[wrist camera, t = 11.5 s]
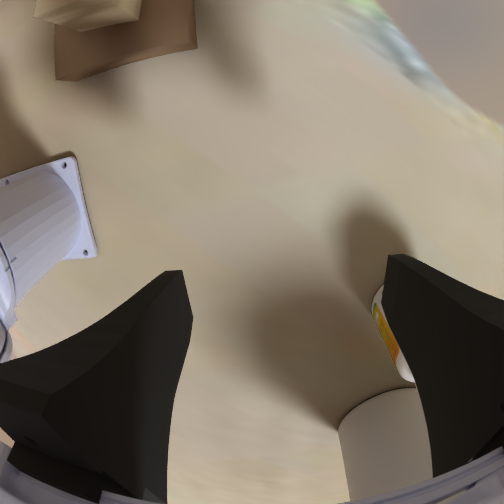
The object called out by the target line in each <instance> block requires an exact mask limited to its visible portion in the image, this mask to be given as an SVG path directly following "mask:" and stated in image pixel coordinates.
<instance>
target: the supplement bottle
mask: <svg viewBox="0 0 504 504" xmlns="http://www.w3.org/2000/svg"><path fill="white" fill-rule="evenodd" d="M383 287H384V284H383V285H382V286H381V287H380V289H379V290H378V291H377V293H376V295H375V297H374V299H373V302H372V315H373V318H374V320H375V322H376V324H377V327H378V329H379V330H380V332H381V335H382V337H383V339H384V341H385V343H386V345H387V347H388V350H389V352H390V354H391V356H392V358H393V361H394V363H395V365H396V367H397V369H398V371H399V373H400V375H401V376H402V377H403V378H404V379H405V380H407V381H410V382H415V380H414V378H413V375H412V373H411V370H410V368H409V366H408V364H407V362H406V360H405V358H404V356H403V354H402V352H401V350H400V348H399V346H398V344H397V342H396V339H395V337H394V335H393V333H392V331H391V329H390V327H389V325H388V322H387V320H386V317H385V314H384V311H383V308H382V305H381V299H382V293H383ZM415 385H416V383H415ZM416 389H417V386H416ZM417 391H418V390H417Z"/></svg>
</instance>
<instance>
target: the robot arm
mask: <svg viewBox="0 0 504 504" xmlns="http://www.w3.org/2000/svg"><path fill="white" fill-rule="evenodd" d="M65 162H66V164H67V167H65V165H64V163H65ZM8 181H9V183H8ZM85 250H87V251H88V253H86V251H85ZM97 252H98V251H97V247H96V243H95V240H94V236H93V233H92V229H91V225H90V221H89V217H88V213H87V209H86V204H85V200H84V196H83V191H82V186H81V181H80V176H79V171H78V166H77V161H76V159H75V157H73V156H70V157H67V158H63V159H59V160H56V161H53V162H49V163H46V164H43V165H40V166H36V167H33V168H30V169H27V170H24V171H21V172H18V173H16V174H13V175H10V176H7V177H4V178H2V179H0V427H1V428H2V429H3V430H4V431H5V432H6V433H7V434H8V435H9V436H10V437H11V438H12V439H13V440H14V441H15V443H14V445H13V447H12V448H10V447H9V446H8V445H6V444H5V443H3V442H1V441H0V504H167V463H168V446H169V435H170V425H171V417H172V410H173V403H174V398H175V393H176V389H177V385H178V382H179V378H180V375H181V371H182V368H183V364H184V361H185V357H186V353H187V350H188V346H189V342H190V337H191V330H192V322H193V314H192V310H191V306H190V302H189V298H188V294H187V289H186V285H185V281H184V276H183V272H182V270H173V271H165V272H163V273H162V274H160V275H159V276H157V277H156V278H155V279H153V280H152V281H151V282H150V283H148V284H147V285H146V286H145V287H143V288H142V289H141V290H140V291H138V292H137V293H136V294H135V295H133V296H132V297H131V298H130V299H128V300H127V301H126V302H124V303H123V304H121V305H120V306H119V307H117V308H116V309H115V310H113V311H112V312H111V313H109V314H108V315H106V316H105V317H104V318H102V319H100V320H99V321H97V322H96V323H94V324H92V325H91V326H89V327H88V328H86V329H84V330H82V331H81V332H79V333H77V334H75V335H73V336H71V337H69V338H67V339H65V340H63V341H61V342H59V343H57V344H55V345H53V346H50V347H48V348H46V349H43V350H41V351H38V352H35V353H33V354H30V355H27V356H24V357H21V358H17V359H14V360H10V361H9V359H10V356H11V353H12V339H11V336H10V334H9V332H8V331H9V329H10V328H11V327H12V326H13V325H14V323H15V322H16V321H17V317H16V315H15V311H14V308H15V306H16V305H17V304H18V303H19V302H20V301H21V300H22V299H23V298H24V297H25V296H26V295H27V294H28V292H29V291H30V290H31V289H32V288H33V287H34V286H35V285H36V284H37V283H38V282H39V281H40V280H41V279H42V278H43V277H44V276H45V275H46V274H47V273H48V272H49V271H50V270H51V269H52V268H53V267H54V266H55V265H56V264H57V263H58V262H59V261H60V260H67V259H81V258H93V257H95V256H96V255H97ZM381 305H382V308H383V311H384V314H385V317H386V320H387V322H388V325H389V327H390V329H391V331H392V333H393V335H394V337H395V339H396V342H397V344H398V346H399V348H400V350H401V352H402V354H403V356H404V358H405V360H406V362H407V364H408V366H409V368H410V370H411V373H412V375H413V378H414V380H415V383H416V386H417V390H418V393H419V396H420V400H421V403H422V407H423V411H424V416H425V420H426V425H427V430H428V436H429V442H430V449H431V459H432V473H433V478H432V479H429V480H427V481H424V482H421V483H418V484H415V485H412V486H409V487H406V488H403V489H399V490H396V491H392V492H389V493H385V494H381V495H377V496H373V497H369V498H365V499H360V500H355V501H350V502H345V503H339V504H436V503H438V502H441V501H443V500H445V499H448V498H450V497H452V496H454V495H457V494H459V493H461V492H463V491H465V490H466V491H465V492H464V493H462V494H460V495H458V496H457V497H455V498H453V499H451V500H449V501H447V502H445V503H443V504H504V300H501V299H499V298H496V297H493V296H491V295H488V294H486V293H483V292H481V291H479V290H476V289H474V288H472V287H470V286H468V285H466V284H464V283H462V282H459V281H457V280H455V279H454V278H452V277H450V276H448V275H446V274H444V273H442V272H440V271H438V270H436V269H434V268H433V267H431V266H429V265H427V264H425V263H423V262H421V261H419V260H417V259H415V258H412V257H410V256H408V255H405V254H396V255H388V261H387V268H386V275H385V281H384V287H383V293H382V299H381Z"/></svg>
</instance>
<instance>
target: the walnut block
mask: <svg viewBox="0 0 504 504" xmlns="http://www.w3.org/2000/svg"><path fill="white" fill-rule="evenodd" d="M191 49H197V37H196V25H195V12H194V0H142V1H141V8H140V14H139V20H137V21H131V22H125V23H119V24H114V25H109V26H105V27H100V28H96V29H92V30H88V31H84V32H79V31H76V30H73V29H70V28H67V27H64V26H61V25H58V24H55V75H56V80H62V81H78V80H81V79H83V78H86V77H89V76H92V75H94V74H97V73H100V72H103V71H106V70H109V69H112V68H116V67H119V66H122V65H126V64H129V63H133V62H137V61H140V60H144V59H148V58H152V57H157V56H161V55H165V54H170V53H175V52H180V51H185V50H191Z"/></svg>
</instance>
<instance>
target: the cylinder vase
mask: <svg viewBox="0 0 504 504" xmlns="http://www.w3.org/2000/svg"><path fill="white" fill-rule="evenodd" d="M338 434H339V439H340V445H341V450H342V455H343V461H344V466H345V472H346V478H347V484H348V490H349V496H350V501H355V500H360V499H365V498H369V497H373V496H377V495H381V494H385V493H389V492H392V491H396V490H399V489H403V488H406V487H409V486H412V485H415V484H418V483H421V482H424V481H427V480H429V479H432V478H433V473H432V459H431V449H430V442H429V436H428V430H427V425H426V420H425V416H424V411H423V407H422V403H421V400H420V396H419V393H418V391H417V389H415V388H403V389H397V390H392V391H389V392H385V393H383V394H380V395H377V396H375V397H373V398H371V399H369V400H367V401H365V402H363V403H362V404H360V405H358V406H357V407H355V408H354V409H353V410H352V411H350V412H349V413H348V414H347V415H346V416H345V417H344V419H343V420H342V421H341V423H340V425H339V429H338ZM464 492H465V491H463V492H461V493H459V494H457V495H454V496H452V497H450V498H448V499H445V500H443V501H441V502H438V503H436V504H443V503H445V502H447V501H449V500H451V499H453V498H455V497H457V496H458V495H460V494H462V493H464Z"/></svg>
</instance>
